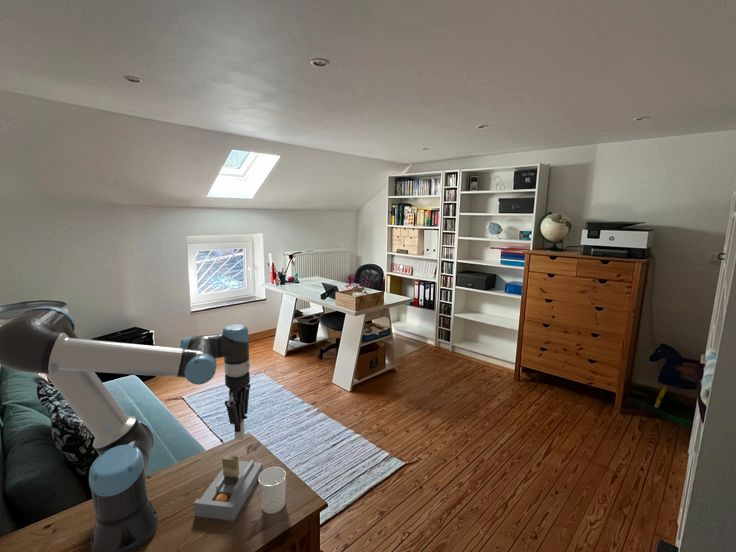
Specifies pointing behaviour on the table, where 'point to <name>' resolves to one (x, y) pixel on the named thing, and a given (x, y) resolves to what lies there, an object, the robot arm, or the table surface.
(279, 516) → the table surface
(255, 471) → the board
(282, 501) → the white cup
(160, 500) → the table surface
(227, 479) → the tan block
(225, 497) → the ball
